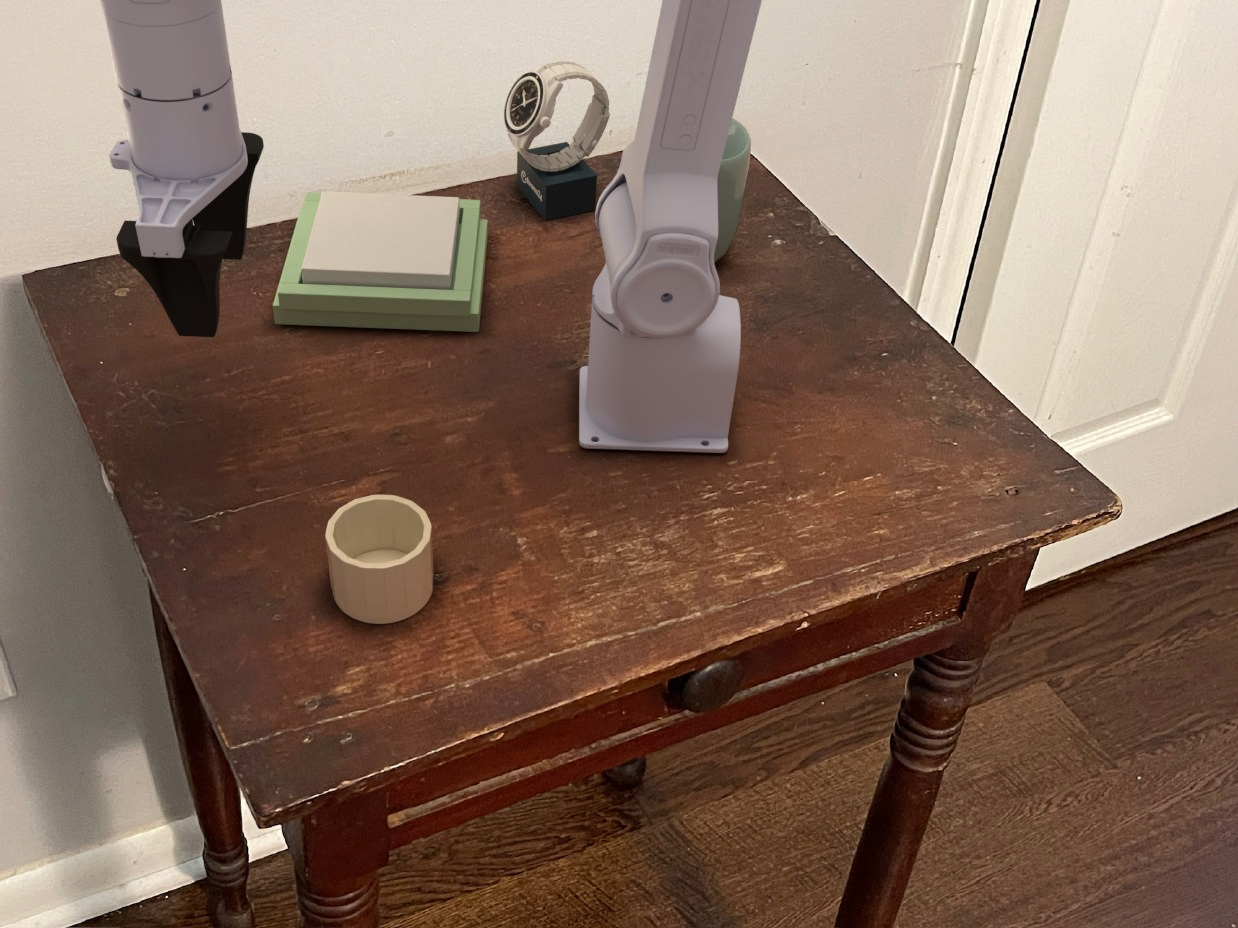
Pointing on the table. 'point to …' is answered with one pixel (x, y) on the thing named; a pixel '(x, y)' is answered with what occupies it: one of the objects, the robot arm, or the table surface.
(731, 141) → the cup
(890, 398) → the table surface
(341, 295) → the scale
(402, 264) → the pan
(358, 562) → the cylindrical container
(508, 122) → the watch
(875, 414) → the table surface
